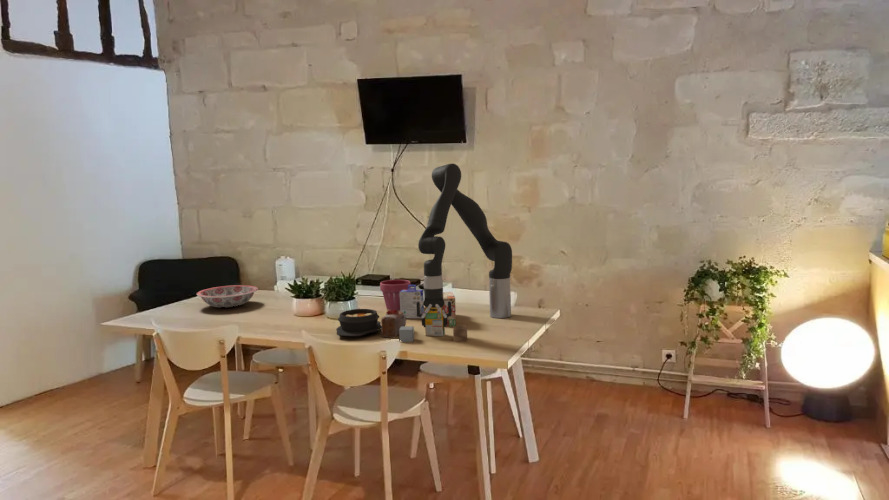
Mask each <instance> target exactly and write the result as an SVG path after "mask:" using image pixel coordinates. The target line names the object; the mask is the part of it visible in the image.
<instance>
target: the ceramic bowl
mask: <svg viewBox="0 0 889 500" xmlns="http://www.w3.org/2000/svg"><path fill="white" fill-rule="evenodd" d="M258 290H259V289H258V287H257V286H253V285H249V284H247V285H246V284H240V285H238V284H235V285H223V286H222V285H221V286H216V287H215V286H214V287H210V288H206V289H201V290H199V291H198V292H196V296H197V297H200V298H201V300H202V301H203V302H204V303H205V304H207V305H209V306H211V307H215V308H221V307H225V308H233V306H234V307H239V306H242V305H244V304H246V303H247V302H249V301H250V300H251V299H252V297H253V296H254V294H255V292H257V291H258ZM238 305H239V306H238Z"/></svg>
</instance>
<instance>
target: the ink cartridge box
mask: <svg viewBox="0 0 889 500" xmlns="http://www.w3.org/2000/svg"><path fill="white" fill-rule="evenodd" d="M410 286H411V288H409V287H410ZM417 301H420V302H424V289H417V284H411V285H408V290H402V291H400V310H399V311H401V312H403V314H404V315H406V318H405V319H422V318H421V317H417ZM424 311H425V306H424V304H423V305H422V307H420V313H421V314H423V313H424Z"/></svg>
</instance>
